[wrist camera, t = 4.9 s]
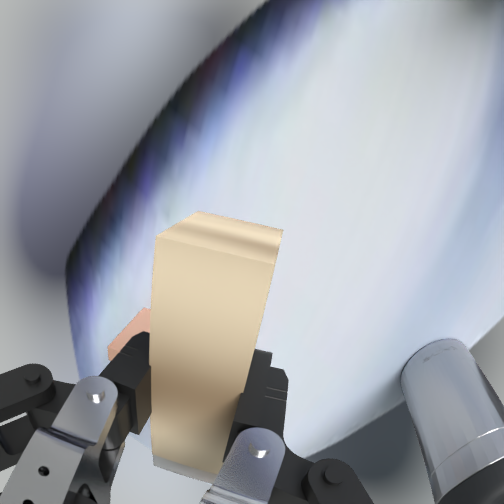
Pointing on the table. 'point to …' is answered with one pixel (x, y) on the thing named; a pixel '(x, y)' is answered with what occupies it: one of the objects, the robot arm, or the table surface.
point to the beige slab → (204, 334)
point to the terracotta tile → (130, 332)
